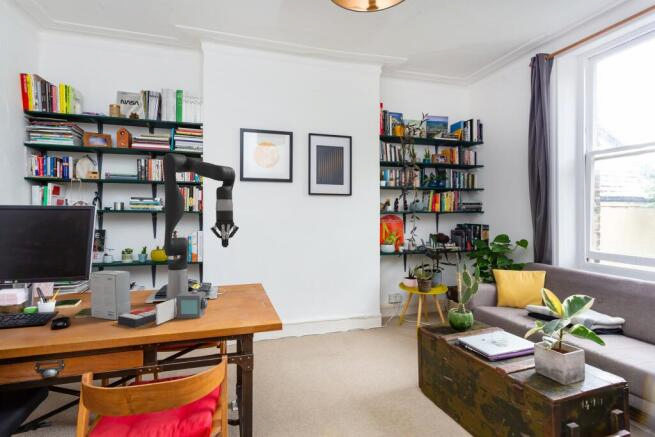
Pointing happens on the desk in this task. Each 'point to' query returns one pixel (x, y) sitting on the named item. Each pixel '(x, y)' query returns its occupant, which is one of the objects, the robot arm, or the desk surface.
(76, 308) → the desk surface
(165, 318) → the side door
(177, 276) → the robot arm
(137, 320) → the calculator
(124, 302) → the hard drive box
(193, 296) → the camera body
